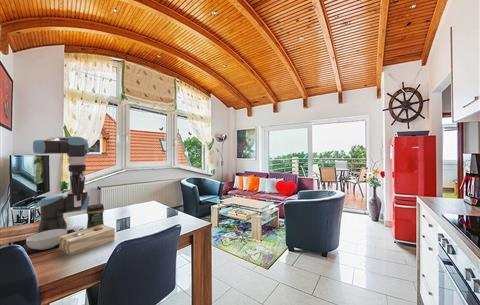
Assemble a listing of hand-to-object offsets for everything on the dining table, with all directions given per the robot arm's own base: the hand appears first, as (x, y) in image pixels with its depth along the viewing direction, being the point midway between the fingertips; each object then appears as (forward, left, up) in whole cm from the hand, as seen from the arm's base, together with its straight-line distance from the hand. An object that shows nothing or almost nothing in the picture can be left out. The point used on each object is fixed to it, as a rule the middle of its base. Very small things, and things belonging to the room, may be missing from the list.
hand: (77, 206), depth 115 cm
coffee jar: (-16, +16, -23) cm, 32 cm away
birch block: (0, +5, -23) cm, 24 cm away
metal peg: (0, 0, -23) cm, 23 cm away
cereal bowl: (-17, -8, -24) cm, 30 cm away
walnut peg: (0, +10, -23) cm, 25 cm away
